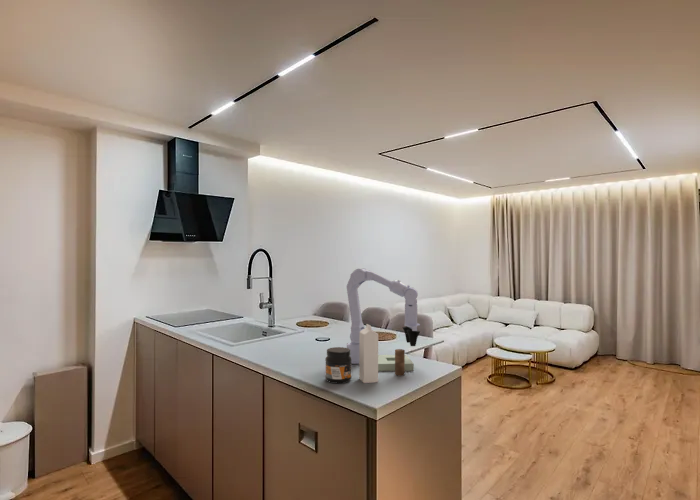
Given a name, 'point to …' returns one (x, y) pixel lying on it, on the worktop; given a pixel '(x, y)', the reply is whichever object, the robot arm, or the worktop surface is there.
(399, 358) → the peg
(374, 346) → the milk
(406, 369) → the socket block
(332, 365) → the supplement container
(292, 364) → the worktop surface
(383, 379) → the worktop surface
